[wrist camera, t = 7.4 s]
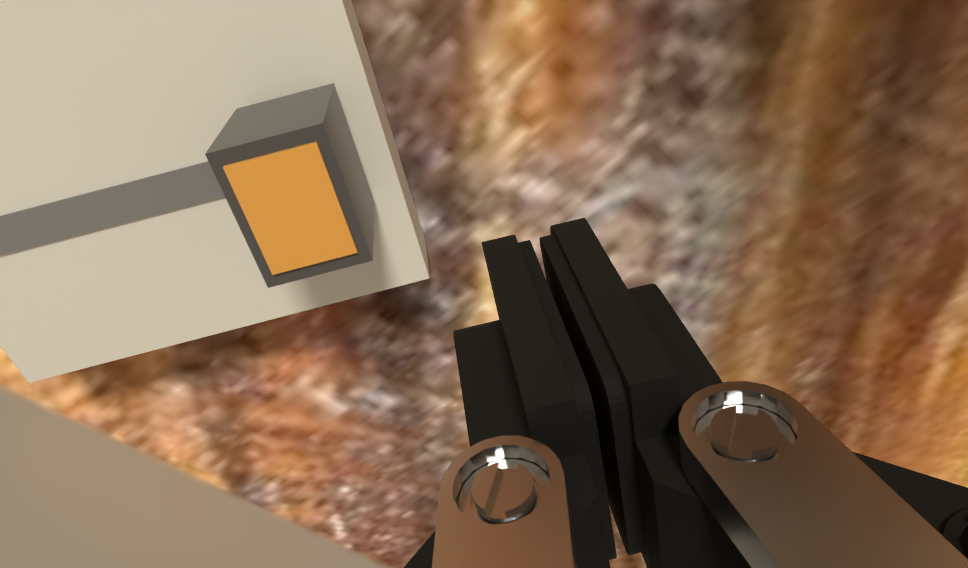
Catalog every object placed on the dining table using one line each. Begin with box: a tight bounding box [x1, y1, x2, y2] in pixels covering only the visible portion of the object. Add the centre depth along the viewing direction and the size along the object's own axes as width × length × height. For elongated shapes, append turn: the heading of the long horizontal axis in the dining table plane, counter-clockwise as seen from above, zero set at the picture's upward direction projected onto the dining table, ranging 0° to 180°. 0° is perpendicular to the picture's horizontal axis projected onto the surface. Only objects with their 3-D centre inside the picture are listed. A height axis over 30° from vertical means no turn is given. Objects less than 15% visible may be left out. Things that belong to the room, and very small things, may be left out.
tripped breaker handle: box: [205, 83, 375, 288], centre depth 19 cm, size 3×4×4 cm
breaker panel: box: [0, 0, 429, 383], centre depth 20 cm, size 15×22×3 cm
